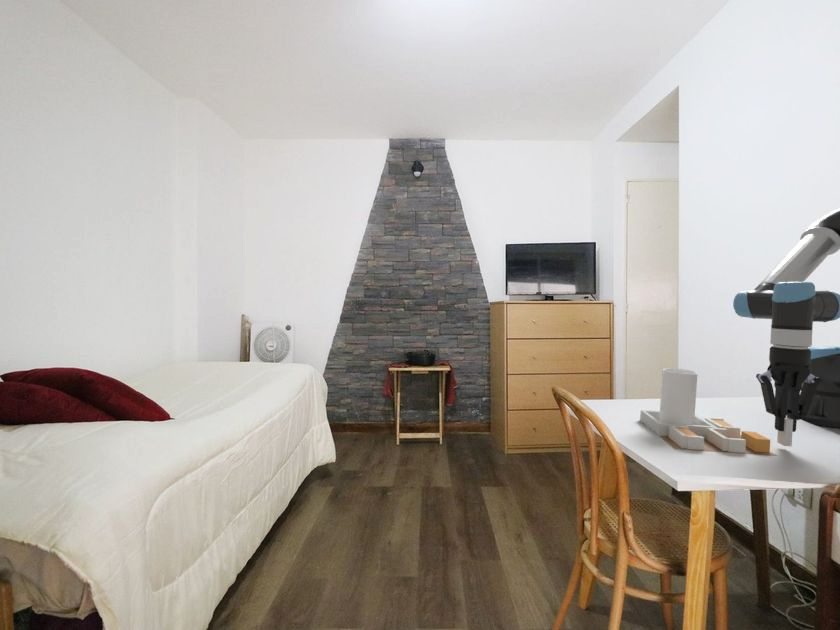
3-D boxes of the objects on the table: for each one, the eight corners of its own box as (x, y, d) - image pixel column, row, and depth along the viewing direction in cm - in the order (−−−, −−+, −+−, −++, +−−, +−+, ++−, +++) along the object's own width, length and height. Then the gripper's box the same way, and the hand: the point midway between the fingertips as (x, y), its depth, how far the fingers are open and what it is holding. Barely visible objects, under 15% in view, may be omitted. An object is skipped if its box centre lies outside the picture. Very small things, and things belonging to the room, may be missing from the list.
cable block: (754, 443, 108) (754, 431, 108) (769, 452, 102) (770, 439, 102) (741, 442, 109) (741, 431, 109) (755, 451, 103) (756, 439, 103)
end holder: (691, 423, 125) (692, 412, 125) (717, 439, 111) (717, 427, 111) (640, 420, 127) (640, 409, 127) (658, 435, 114) (659, 424, 113)
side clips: (721, 429, 120) (721, 418, 120) (764, 454, 101) (764, 441, 101) (653, 425, 123) (653, 414, 122) (683, 448, 104) (683, 436, 104)
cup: (698, 434, 114) (702, 374, 114) (663, 431, 116) (667, 372, 116) (687, 425, 122) (691, 369, 122) (655, 422, 124) (658, 367, 124)
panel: (722, 428, 124) (722, 424, 124) (777, 460, 100) (777, 455, 100) (640, 424, 127) (640, 420, 127) (674, 453, 104) (674, 448, 104)
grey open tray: (724, 440, 111) (725, 428, 111) (745, 452, 102) (745, 440, 102) (705, 438, 111) (706, 427, 111) (724, 451, 103) (724, 438, 102)
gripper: (809, 345, 106) (803, 441, 107) (750, 344, 108) (745, 437, 109) (833, 349, 99) (826, 451, 100) (769, 347, 101) (764, 447, 102)
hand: (784, 444), depth 105 cm, fingers closed
